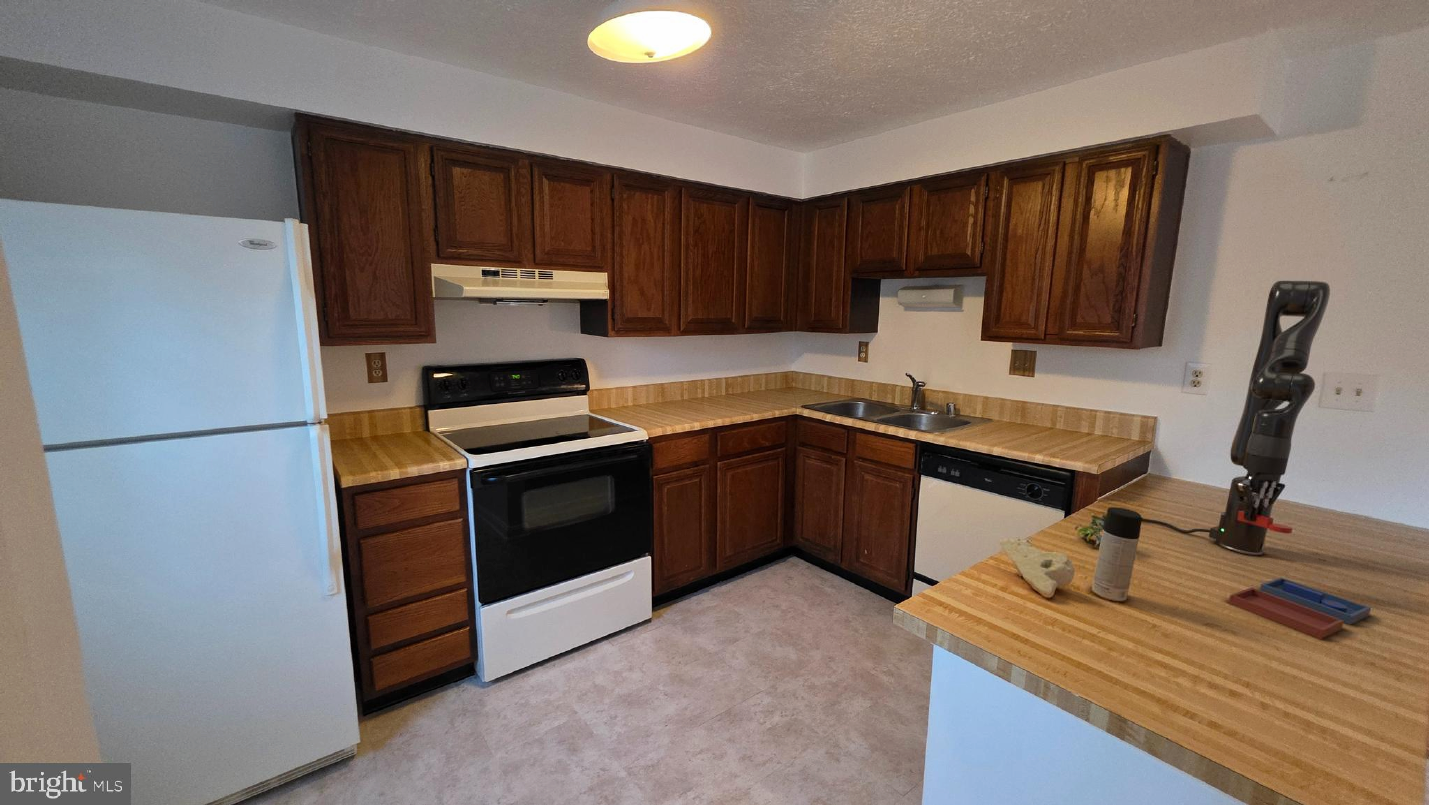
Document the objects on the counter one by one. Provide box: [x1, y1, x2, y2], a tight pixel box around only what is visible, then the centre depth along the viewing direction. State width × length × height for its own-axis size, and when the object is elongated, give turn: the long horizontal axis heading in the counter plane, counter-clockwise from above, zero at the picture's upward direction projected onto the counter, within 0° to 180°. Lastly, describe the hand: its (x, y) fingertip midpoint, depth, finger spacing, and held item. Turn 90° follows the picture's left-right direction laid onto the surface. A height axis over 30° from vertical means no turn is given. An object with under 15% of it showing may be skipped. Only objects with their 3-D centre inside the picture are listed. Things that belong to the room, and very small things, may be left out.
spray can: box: [1091, 506, 1143, 602], centre depth 127 cm, size 7×7×20 cm
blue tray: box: [1259, 577, 1372, 626], centre depth 130 cm, size 15×10×2 cm
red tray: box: [1228, 587, 1344, 640], centre depth 123 cm, size 15×10×2 cm
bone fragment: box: [999, 537, 1075, 599], centre depth 131 cm, size 15×7×15 cm
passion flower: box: [1074, 512, 1107, 549], centre depth 156 cm, size 11×11×12 cm
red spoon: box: [1238, 511, 1293, 534], centre depth 138 cm, size 10×4×2 cm, turn 13°
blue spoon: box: [1282, 581, 1347, 613], centre depth 130 cm, size 10×4×2 cm, turn 26°
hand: (1252, 520), depth 140 cm, fingers closed on red spoon, 1 cm apart
